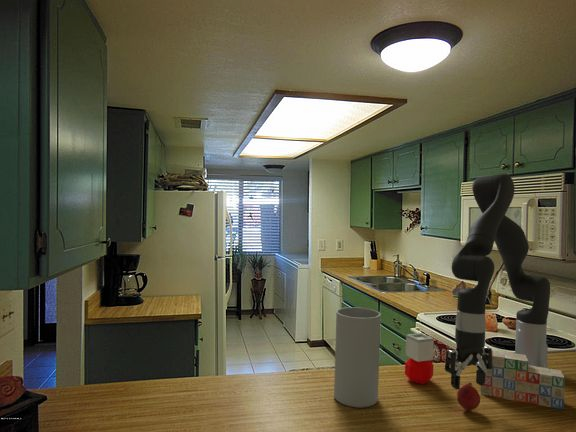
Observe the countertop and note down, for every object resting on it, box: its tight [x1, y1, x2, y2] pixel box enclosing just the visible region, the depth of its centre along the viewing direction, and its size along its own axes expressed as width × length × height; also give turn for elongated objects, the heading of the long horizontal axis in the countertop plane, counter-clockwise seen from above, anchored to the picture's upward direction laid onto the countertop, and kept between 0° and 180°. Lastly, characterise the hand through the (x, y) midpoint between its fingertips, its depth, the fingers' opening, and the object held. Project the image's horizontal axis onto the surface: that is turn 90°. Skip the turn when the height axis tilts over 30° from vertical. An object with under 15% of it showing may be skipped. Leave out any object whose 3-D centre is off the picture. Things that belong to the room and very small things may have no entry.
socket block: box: [405, 332, 435, 362], centre depth 134 cm, size 6×6×7 cm
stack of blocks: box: [480, 350, 566, 411], centre depth 124 cm, size 21×6×12 cm, turn 65°
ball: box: [404, 357, 434, 385], centre depth 134 cm, size 8×8×8 cm
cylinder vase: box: [333, 306, 381, 409], centre depth 120 cm, size 12×12×25 cm
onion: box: [456, 381, 481, 412], centre depth 115 cm, size 6×6×8 cm
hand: (467, 386), depth 114 cm, fingers open, 8 cm apart
